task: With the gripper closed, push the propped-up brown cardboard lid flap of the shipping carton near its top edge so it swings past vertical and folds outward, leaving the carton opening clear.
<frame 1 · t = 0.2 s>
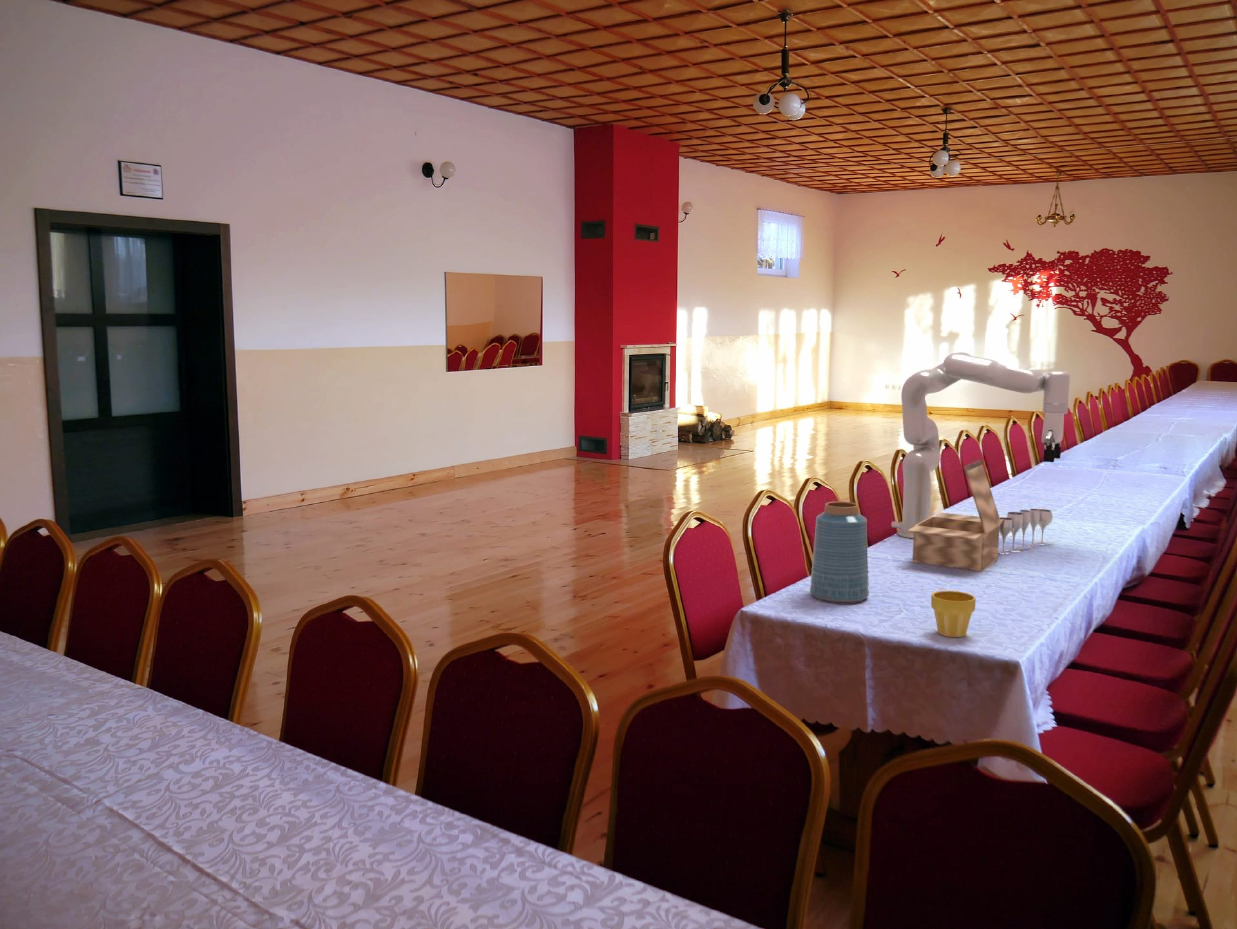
hand: (1051, 460, 322), 31 cm above the table, tool pointing down, fingers open, 9 cm apart
vase: (839, 597, 275), on the table
plant pot: (951, 634, 242), on the table
carton: (955, 560, 315), on the table
goblet set: (1023, 549, 331), on the table
lid flap: (982, 495, 307), point 22 cm above the table, hinge at 70.0°
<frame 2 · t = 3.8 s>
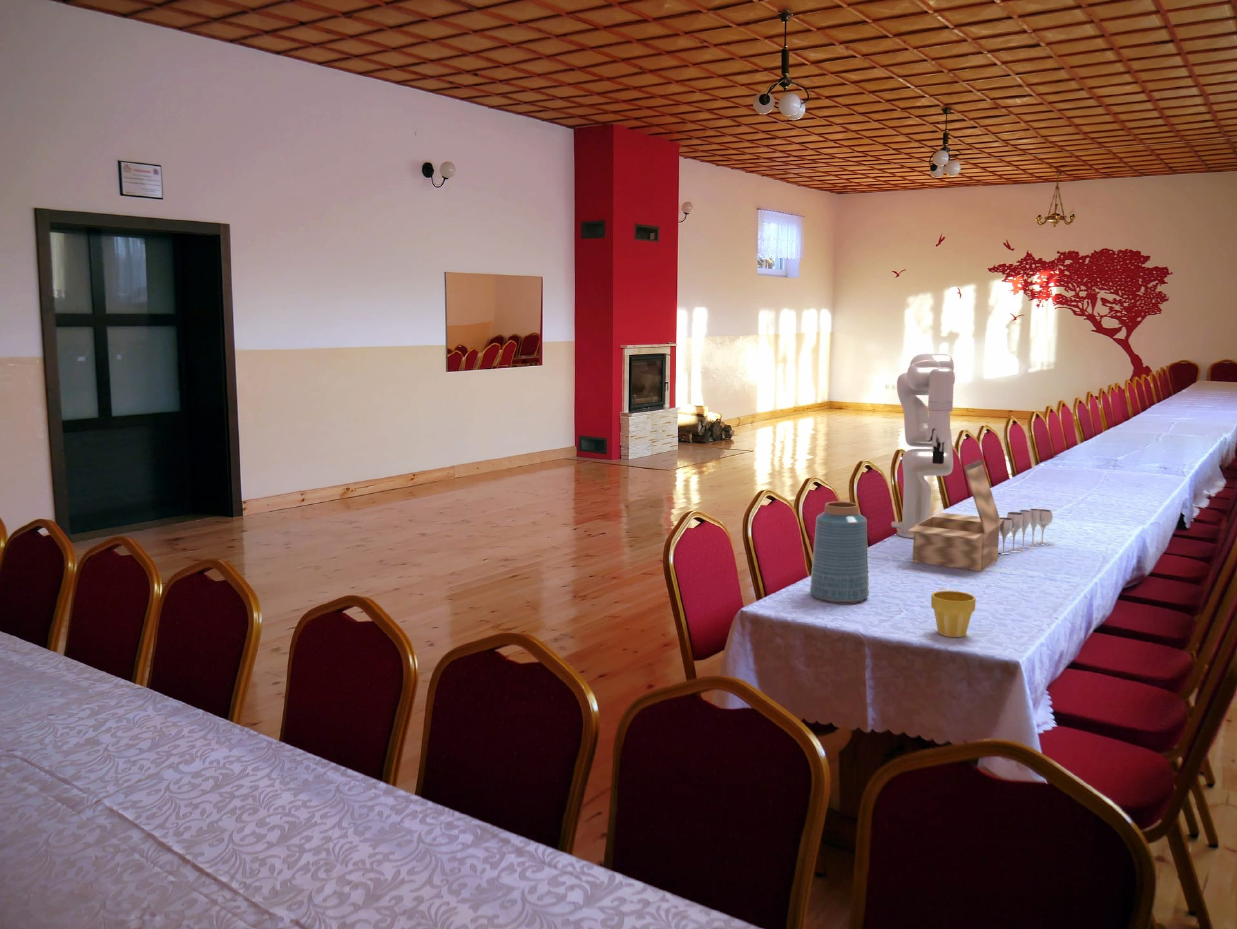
hand: (938, 463, 314), 32 cm above the table, tool pointing down, fingers closed
nothing on the table moved.
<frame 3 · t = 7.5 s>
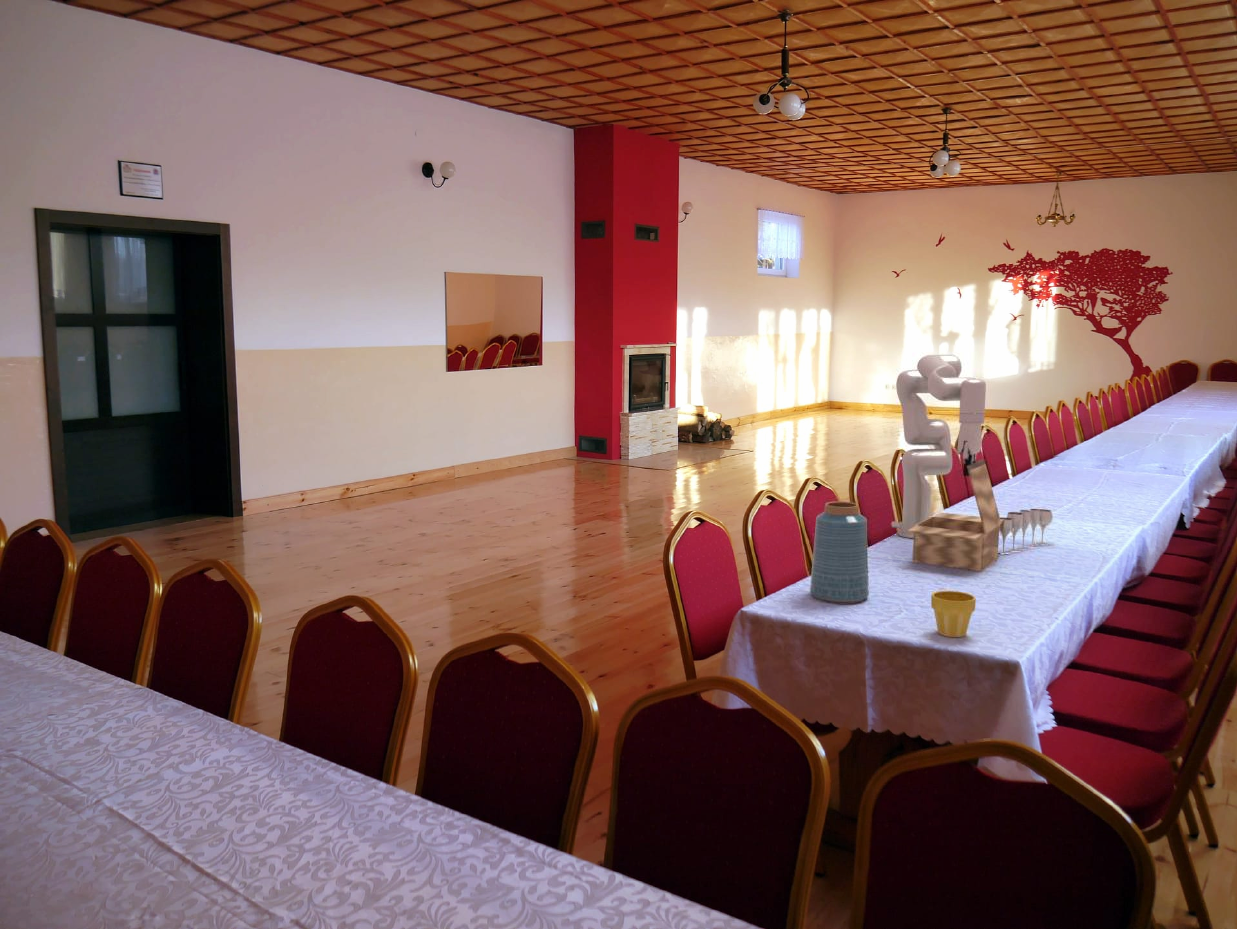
hand: (969, 475, 309), 28 cm above the table, tool pointing down, fingers closed
lid flap: (984, 495, 307), point 22 cm above the table, hinge at 72.6°, touching gripper
everything else where it was.
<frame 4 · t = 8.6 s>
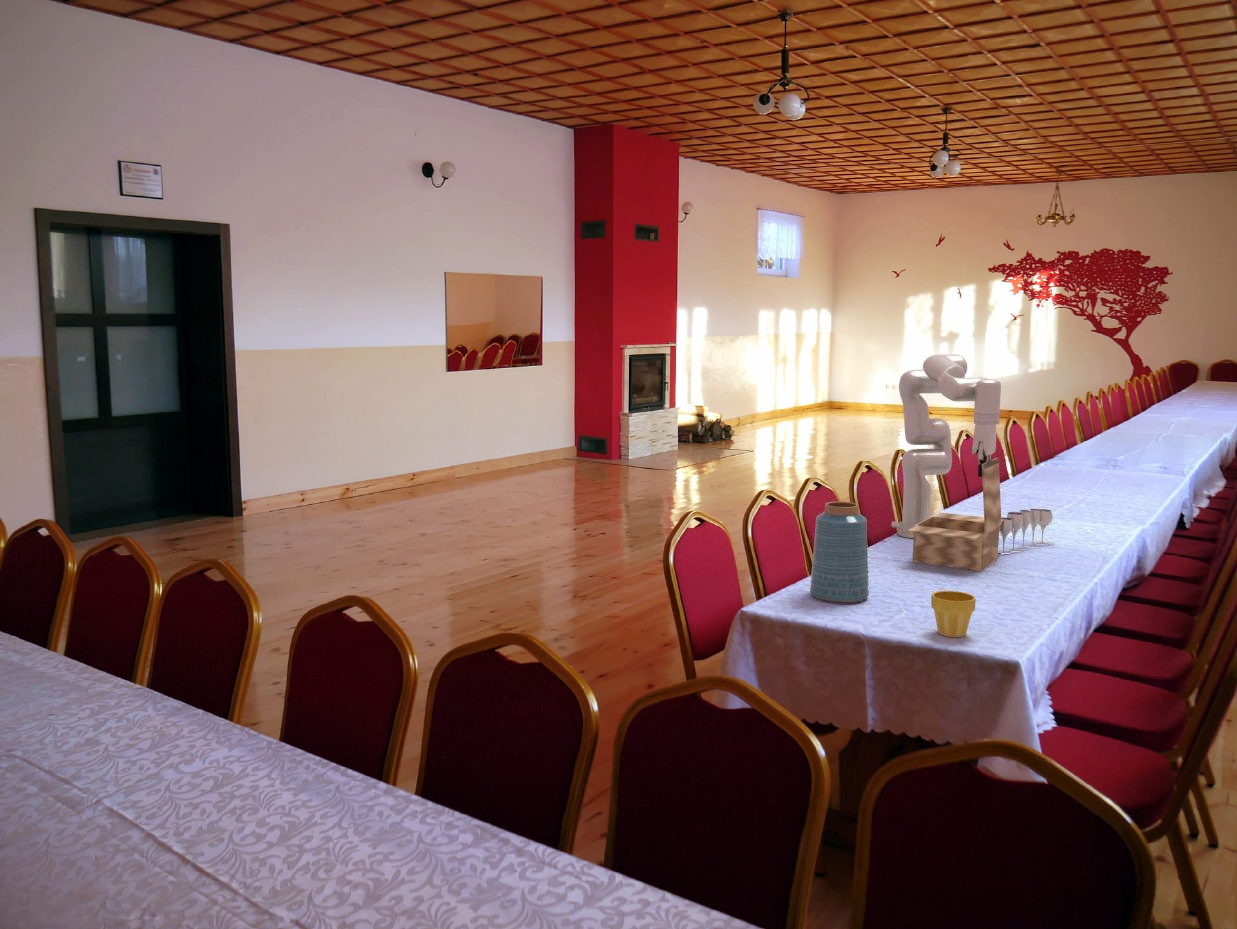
hand: (983, 476, 306), 28 cm above the table, tool pointing down, fingers closed
lid flap: (991, 495, 306), point 23 cm above the table, hinge at 84.9°, touching gripper
everything else where it was.
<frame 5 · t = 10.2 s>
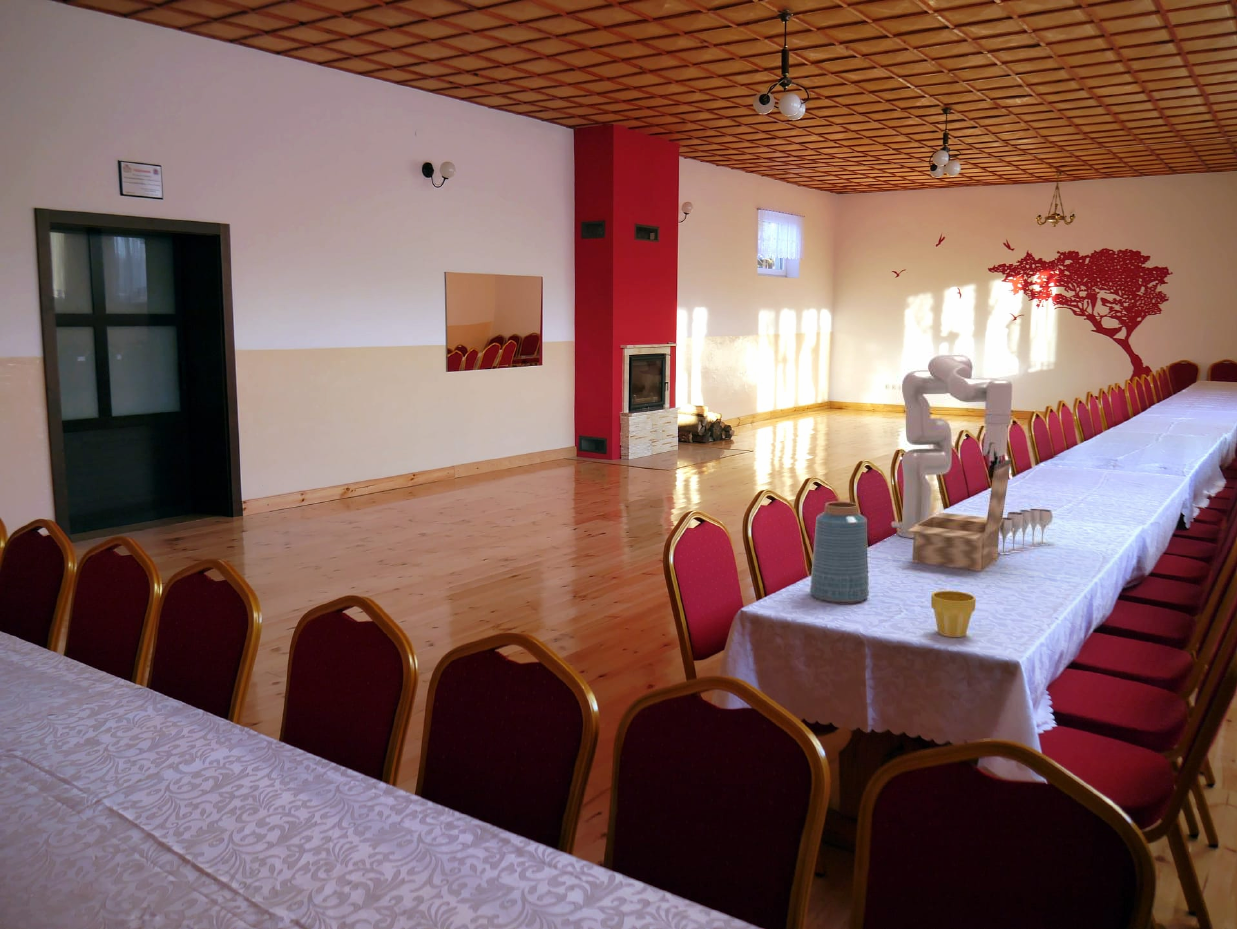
hand: (994, 477, 304), 28 cm above the table, tool pointing down, fingers closed
lid flap: (998, 495, 304), point 23 cm above the table, hinge at 95.0°, touching gripper
everything else where it was.
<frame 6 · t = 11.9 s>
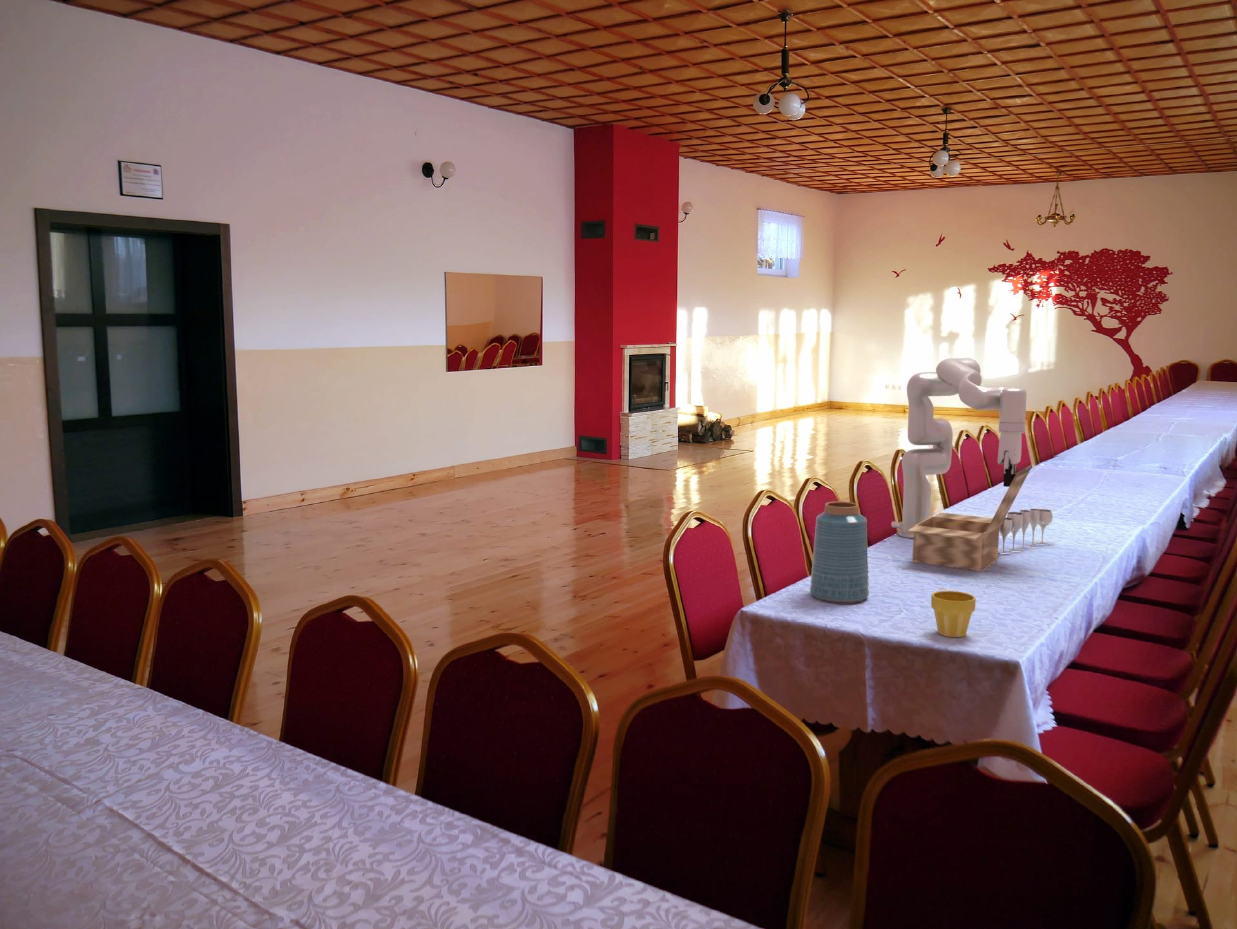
hand: (1009, 486, 302), 26 cm above the table, tool pointing down, fingers closed
lid flap: (1008, 499, 303), point 22 cm above the table, hinge at 112.8°, touching gripper
everything else where it was.
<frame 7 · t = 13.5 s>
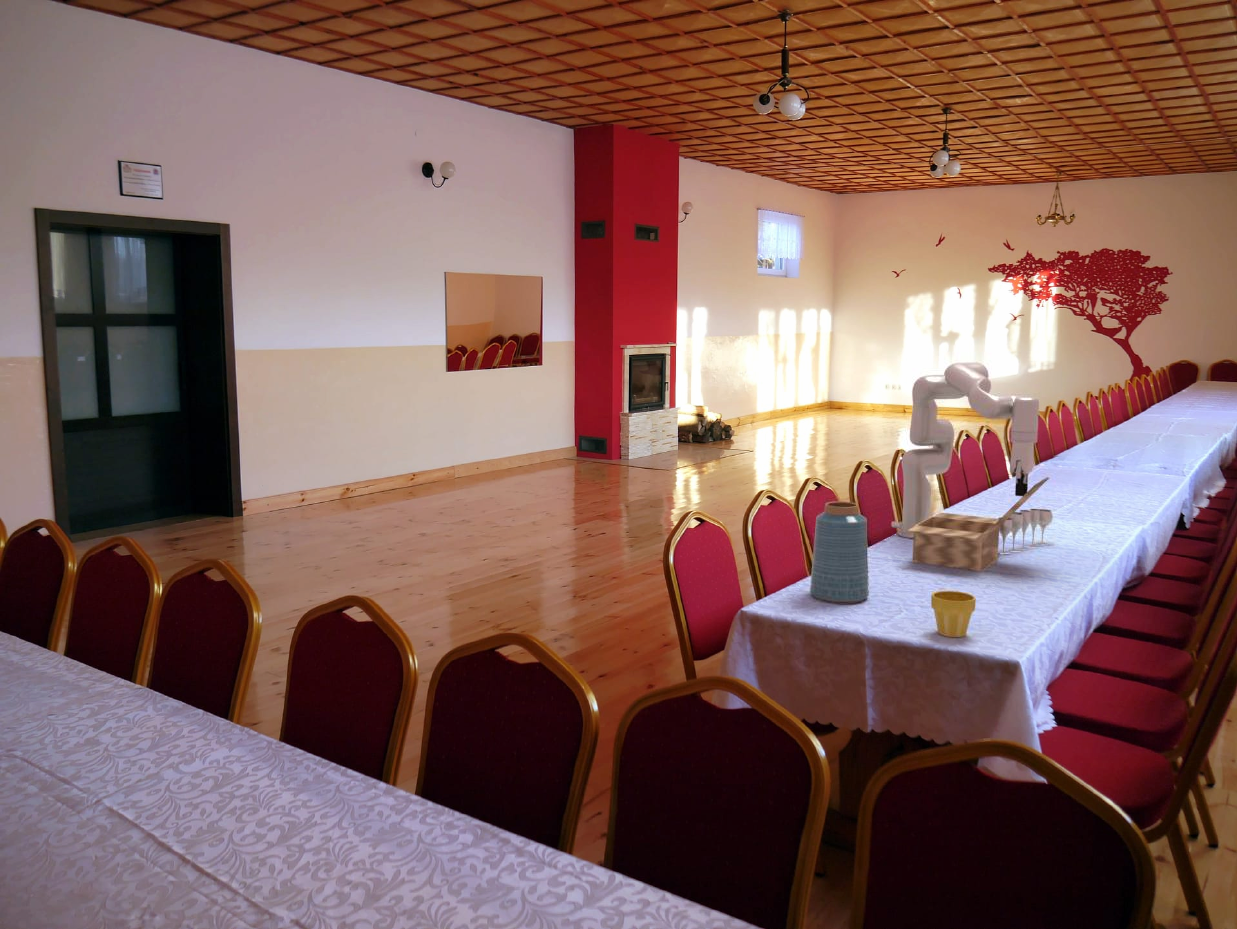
hand: (1021, 495, 300), 23 cm above the table, tool pointing down, fingers closed
lid flap: (1017, 505, 301), point 20 cm above the table, hinge at 129.4°, touching gripper
everything else where it was.
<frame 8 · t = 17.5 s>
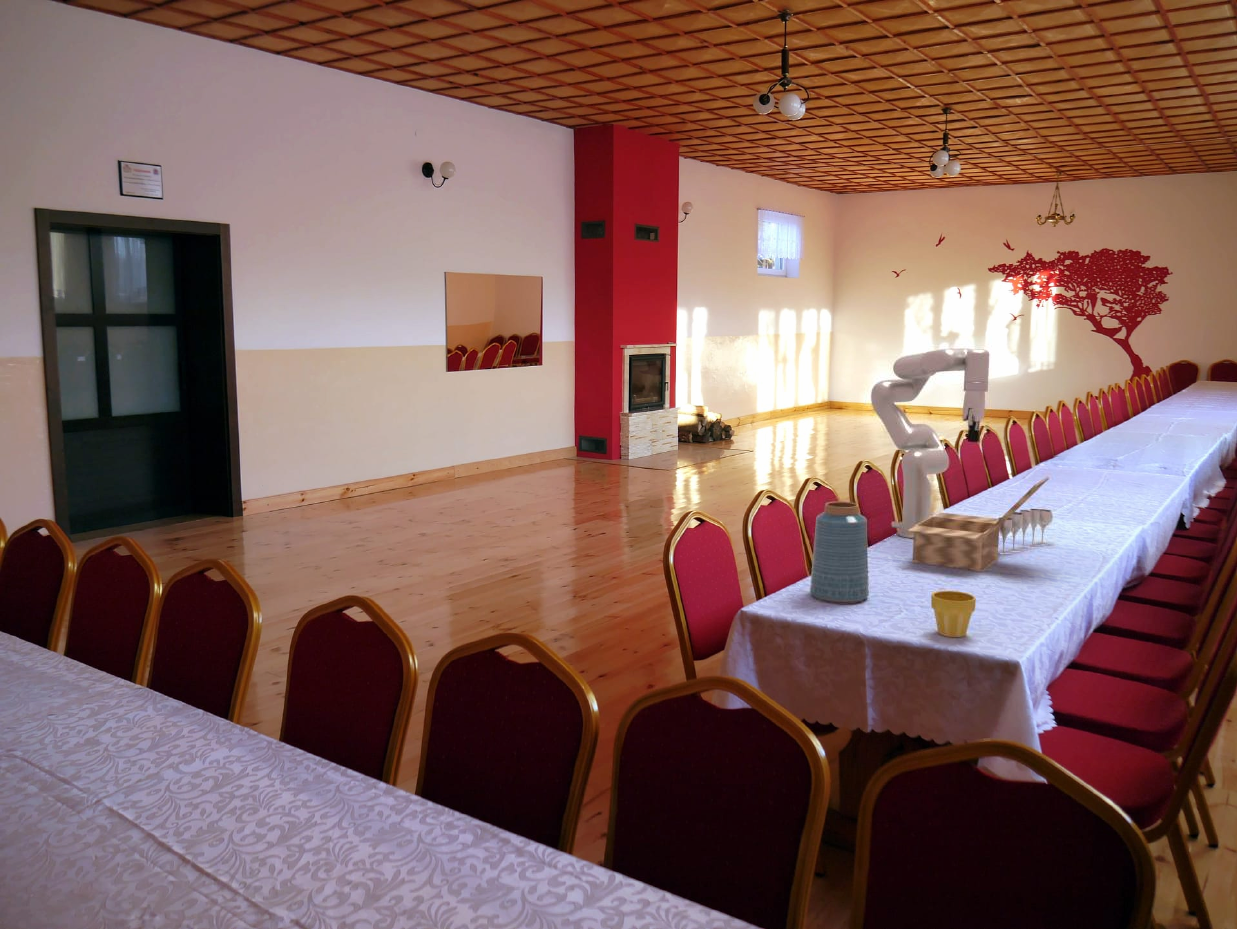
hand: (973, 441, 324), 37 cm above the table, tool pointing down, fingers closed
lid flap: (1017, 505, 301), point 20 cm above the table, hinge at 129.4°
everything else where it was.
at the end: lid flap at +129° (first picture: +70°); the gripper is holding nothing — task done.
